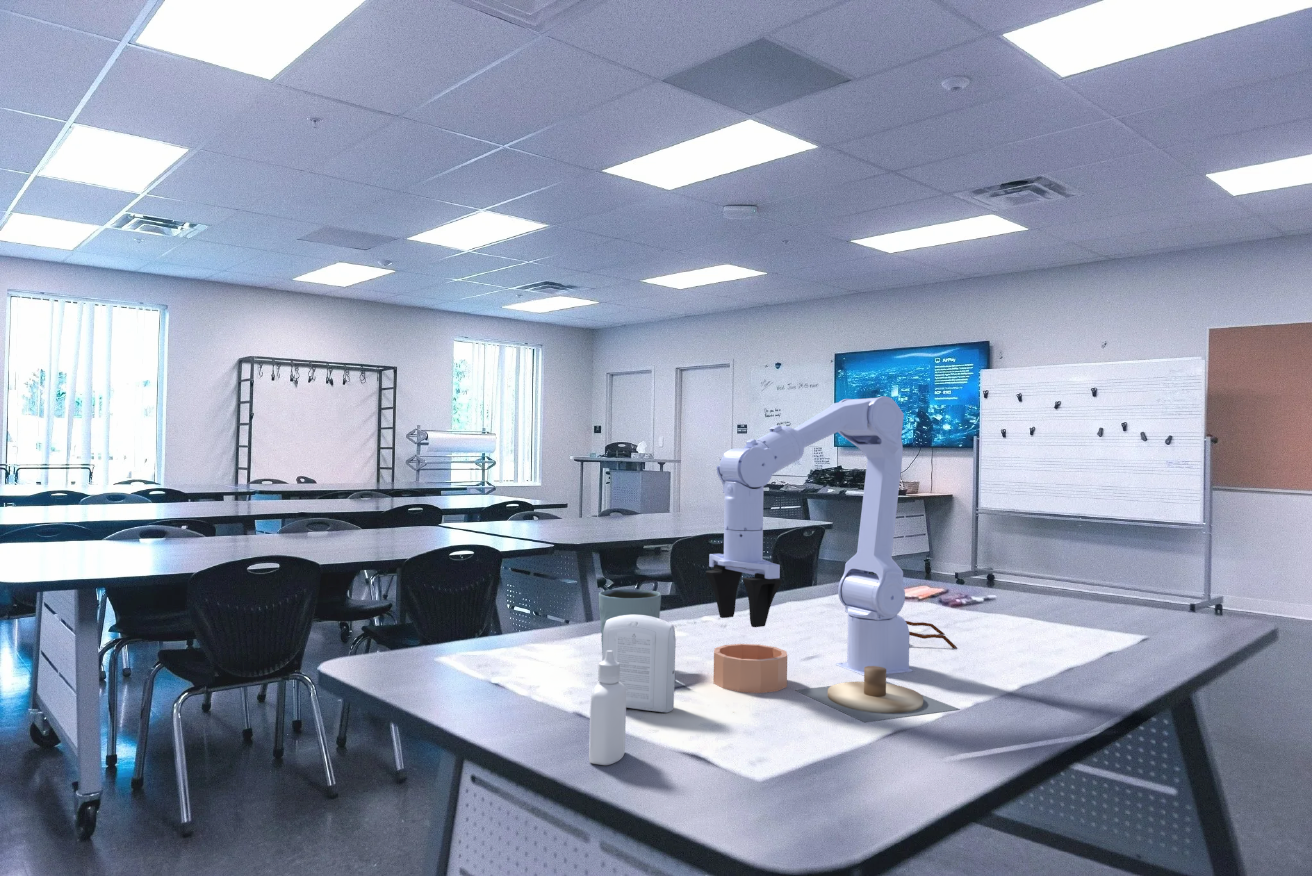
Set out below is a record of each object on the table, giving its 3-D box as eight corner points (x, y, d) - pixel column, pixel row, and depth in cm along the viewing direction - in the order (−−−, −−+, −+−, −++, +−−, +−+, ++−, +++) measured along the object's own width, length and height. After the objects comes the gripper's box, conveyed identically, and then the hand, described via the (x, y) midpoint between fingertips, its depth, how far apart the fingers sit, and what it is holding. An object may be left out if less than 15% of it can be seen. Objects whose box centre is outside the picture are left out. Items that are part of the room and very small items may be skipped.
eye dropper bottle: (575, 757, 98) (577, 650, 98) (614, 747, 101) (617, 644, 101) (599, 769, 94) (601, 658, 95) (638, 757, 98) (641, 651, 98)
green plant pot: (623, 679, 132) (625, 600, 132) (583, 666, 139) (585, 591, 140) (673, 669, 138) (674, 594, 139) (632, 657, 146) (634, 586, 146)
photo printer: (678, 706, 118) (680, 615, 119) (669, 715, 114) (671, 621, 114) (607, 698, 121) (609, 610, 122) (596, 707, 117) (598, 615, 118)
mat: (883, 683, 133) (883, 680, 133) (960, 712, 118) (960, 709, 118) (794, 693, 126) (794, 689, 126) (864, 725, 111) (864, 721, 111)
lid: (881, 683, 131) (882, 655, 131) (943, 707, 119) (944, 675, 119) (809, 691, 125) (809, 661, 125) (866, 717, 113) (867, 684, 113)
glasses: (876, 633, 173) (877, 607, 173) (944, 636, 171) (944, 611, 171) (884, 647, 160) (885, 620, 160) (958, 651, 158) (958, 623, 158)
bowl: (761, 673, 137) (762, 641, 137) (800, 691, 127) (801, 657, 127) (701, 679, 132) (701, 646, 132) (736, 698, 123) (737, 663, 123)
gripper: (693, 526, 132) (691, 615, 132) (752, 534, 120) (750, 633, 120) (730, 524, 136) (729, 611, 136) (791, 532, 123) (790, 628, 123)
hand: (742, 621), depth 128 cm, fingers open, 7 cm apart
